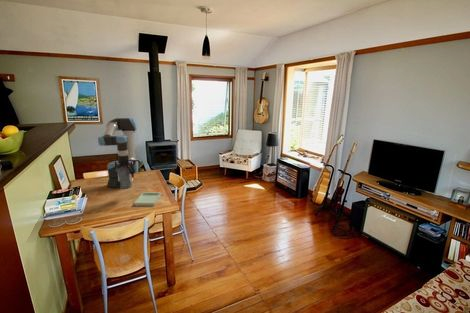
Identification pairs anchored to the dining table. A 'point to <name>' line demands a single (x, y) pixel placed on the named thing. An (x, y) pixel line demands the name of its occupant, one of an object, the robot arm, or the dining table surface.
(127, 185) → the moka pot
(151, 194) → the tray
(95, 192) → the dining table surface
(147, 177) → the dining table surface
